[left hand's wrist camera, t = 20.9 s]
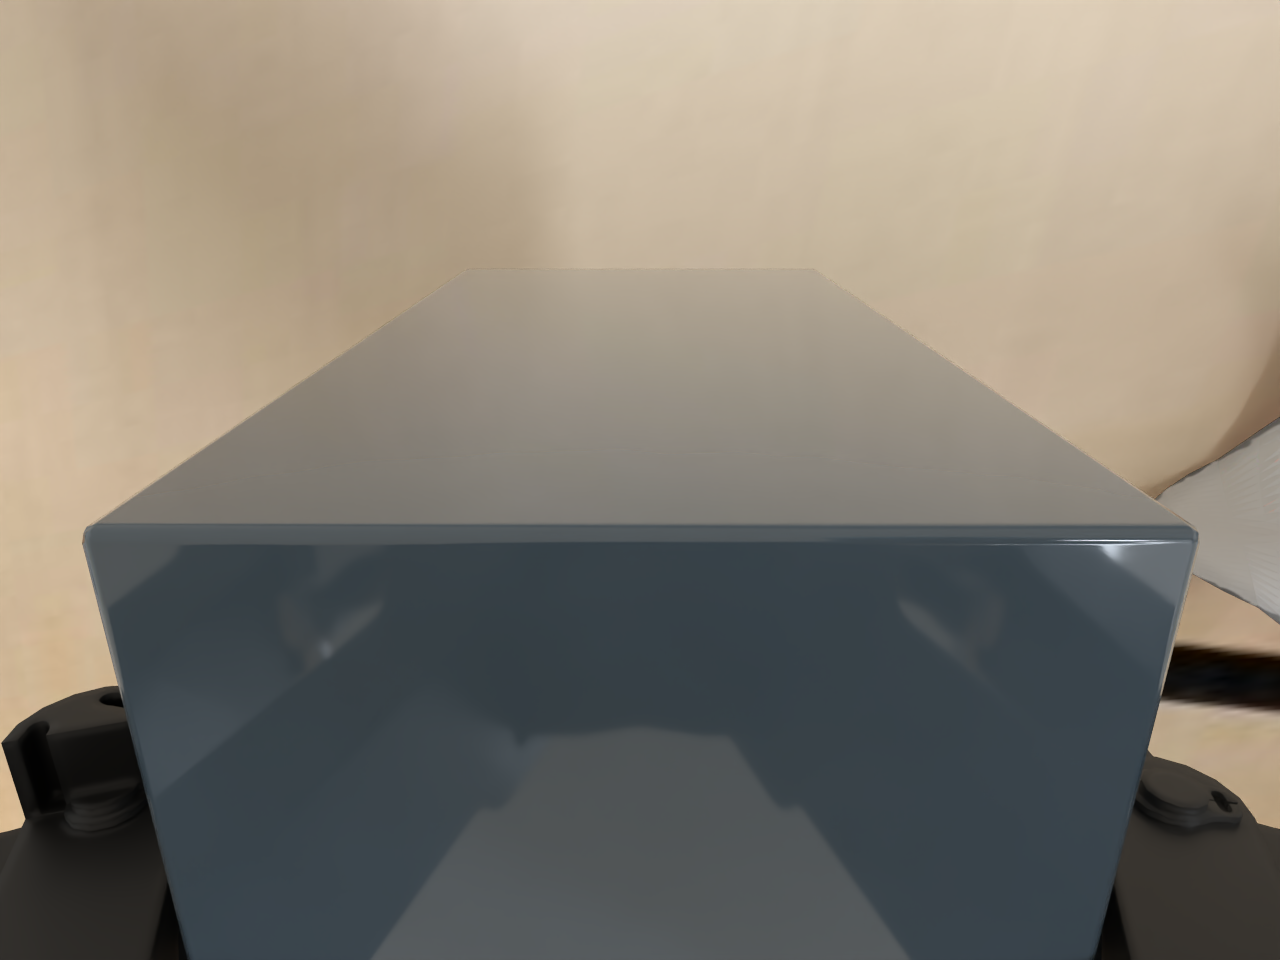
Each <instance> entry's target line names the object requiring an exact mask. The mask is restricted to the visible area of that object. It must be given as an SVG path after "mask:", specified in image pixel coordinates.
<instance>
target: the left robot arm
mask: <svg viewBox="0 0 1280 960" xmlns="http://www.w3.org/2000/svg"><path fill="white" fill-rule="evenodd" d="M1 744H2V747H3V750H4V753H5V756H6V759H7V762H8V766H9V769H10V772H11V775H12V778H13V781H14V784H15V787H16V791H17V794H18V797H19V800H20V803H21V806H22V809H23V812H24V816H25V822H24V824H23V826H22V828H18V829H15V830H11V831H7V832H2V833H0V960H188V959H187V955H186V951H185V947H184V943H183V939H182V935H181V931H180V927H179V923H178V919H177V915H176V911H175V907H174V903H173V899H172V895H171V891H170V887H169V884H168V880H167V876H166V872H165V868H164V864H163V860H162V856H161V852H160V848H159V844H158V840H157V836H156V832H155V828H154V824H153V820H152V816H151V812H150V808H149V805H148V801H147V797H146V793H145V789H144V785H143V781H142V777H141V773H140V769H139V765H138V761H137V757H136V753H135V749H134V745H133V741H132V737H131V733H130V729H129V725H128V722H127V718H126V714H125V710H124V706H123V702H122V698H121V694H120V690H119V686H109V687H103V688H99V689H95V690H91V691H87V692H83V693H79V694H75V695H72V696H70V697H67V698H65V699H63V700H60V701H58V702H55V703H53V704H51V705H48V706H46V707H44V708H42V709H40V710H39V711H37V712H36V713H34V714H33V715H31V716H30V717H28V718H27V719H25V720H24V721H22V722H21V723H19V724H18V725H17V726H16V727H15V728H14V729H13V730H12V731H11V733H10V734H9V735H8V736H7V737H6V738H5V739H4V740H3V742H2V743H1ZM1094 960H1280V829H1277V828H1273V827H1269V826H1265V825H1262V824H1258V823H1257V822H1256V820H1255V818H1254V817H1253V815H1252V814H1251V812H1250V811H1249V810H1248V808H1247V807H1246V806H1245V804H1244V803H1243V802H1242V800H1241V799H1240V798H1239V797H1238V796H1236V795H1235V794H1234V793H1232V792H1231V791H1230V790H1228V789H1227V788H1226V787H1224V786H1223V785H1222V784H1221V783H1219V782H1218V781H1217V780H1215V779H1213V778H1211V777H1209V776H1207V775H1205V774H1203V773H1201V772H1199V771H1197V770H1195V769H1193V768H1190V767H1188V766H1186V765H1183V764H1179V763H1176V762H1172V761H1169V760H1165V759H1162V758H1158V757H1153V756H1152V755H1151V753H1150V752H1149V751H1148V750H1147V754H1146V758H1145V762H1144V765H1143V769H1142V773H1141V777H1140V781H1139V785H1138V789H1137V793H1136V797H1135V801H1134V805H1133V809H1132V813H1131V817H1130V821H1129V825H1128V828H1127V832H1126V836H1125V840H1124V844H1123V848H1122V852H1121V856H1120V860H1119V864H1118V868H1117V872H1116V876H1115V880H1114V884H1113V888H1112V891H1111V895H1110V899H1109V903H1108V907H1107V911H1106V915H1105V919H1104V923H1103V927H1102V931H1101V935H1100V939H1099V943H1098V947H1097V950H1096V954H1095V958H1094Z"/></svg>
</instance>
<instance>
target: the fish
mask: <svg viewBox="0 0 1280 960" xmlns="http://www.w3.org/2000/svg"><path fill="white" fill-rule="evenodd" d="M1155 500H1156V501H1158V502H1159V503H1161V504H1162V505H1164V506H1165V507H1167V508H1168V509H1170V510H1171V511H1173V512H1174V513H1175V514H1177V515H1178V516H1180V517H1181V518H1183V519H1184V520H1186V521H1187V522H1189V523H1190V524H1192V525H1193V526H1195V527H1196V529H1197V531H1198V533H1199V540H1200V545H1199V549H1198V553H1197V557H1196V561H1195V565H1194V569H1193V573H1192V574H1194V575H1195V576H1197V577H1199V578H1201V579H1203V580H1204V581H1206V582H1208V583H1210V584H1212V585H1214V586H1215V587H1217V588H1219V589H1221V590H1223V591H1224V592H1227V593H1229V594H1231V595H1233V596H1235V597H1237V598H1239V599H1241V600H1243V601H1245V602H1247V603H1249V604H1252V605H1254V606H1256V607H1258V608H1259V609H1260V610H1262V611H1263V612H1264V613H1266V614H1267V615H1268V616H1269V617H1271V618H1272V619H1273V620H1275V621H1276V622H1277V623H1279V624H1280V417H1279V418H1277V419H1276V420H1274V421H1273V422H1272V423H1270V424H1269V425H1267V426H1266V427H1264V428H1263V429H1261V430H1260V431H1258V432H1257V433H1255V434H1254V435H1252V436H1251V437H1249V438H1248V439H1247V440H1245V441H1244V442H1242V443H1241V444H1239V445H1238V446H1236V447H1235V448H1234V449H1232V450H1231V451H1229V452H1228V453H1226V454H1225V455H1223V456H1222V457H1221V458H1219V459H1218V460H1216V461H1214V462H1212V463H1210V464H1208V465H1206V466H1204V467H1202V468H1200V469H1198V470H1196V471H1194V472H1192V473H1190V474H1188V475H1187V476H1185V477H1184V478H1182V479H1181V480H1179V481H1178V482H1176V483H1175V484H1173V485H1172V486H1170V487H1169V488H1167V489H1166V490H1164V491H1163V492H1162V493H1161V494H1160V495H1159V496H1158V497H1157V498H1156V499H1155Z"/></svg>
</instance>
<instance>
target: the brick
mask: <svg viewBox="0 0 1280 960" xmlns="http://www.w3.org/2000/svg"><path fill="white" fill-rule="evenodd" d="M82 544H83V548H84V552H85V556H86V560H87V563H88V567H89V571H90V575H91V579H92V583H93V587H94V591H95V595H96V599H97V603H98V607H99V611H100V615H101V619H102V623H103V627H104V631H105V635H106V639H107V643H108V646H109V650H110V654H111V658H112V662H113V666H114V670H115V674H116V678H117V682H118V686H119V690H120V694H121V698H122V702H123V706H124V710H125V714H126V718H127V722H128V725H129V729H130V733H131V737H132V741H133V745H134V749H135V753H136V757H137V761H138V765H139V769H140V773H141V777H142V781H143V785H144V789H145V793H146V797H147V801H148V805H149V808H150V812H151V816H152V820H153V824H154V828H155V832H156V836H157V840H158V844H159V848H160V852H161V856H162V860H163V864H164V868H165V872H166V876H167V880H168V884H169V887H170V891H171V895H172V899H173V903H174V907H175V911H176V915H177V919H178V923H179V927H180V931H181V935H182V939H183V943H184V947H185V951H186V955H187V959H188V960H1094V958H1095V954H1096V950H1097V947H1098V943H1099V939H1100V935H1101V931H1102V927H1103V923H1104V919H1105V915H1106V911H1107V907H1108V903H1109V899H1110V895H1111V891H1112V888H1113V884H1114V880H1115V876H1116V872H1117V868H1118V864H1119V860H1120V856H1121V852H1122V848H1123V844H1124V840H1125V836H1126V832H1127V828H1128V825H1129V821H1130V817H1131V813H1132V809H1133V805H1134V801H1135V797H1136V793H1137V789H1138V785H1139V781H1140V777H1141V773H1142V769H1143V765H1144V762H1145V758H1146V754H1147V750H1148V746H1149V742H1150V738H1151V734H1152V730H1153V726H1154V722H1155V718H1156V714H1157V710H1158V706H1159V703H1160V699H1161V695H1162V691H1163V687H1164V683H1165V679H1166V675H1167V671H1168V667H1169V663H1170V659H1171V655H1172V651H1173V647H1174V643H1175V640H1176V636H1177V632H1178V628H1179V624H1180V620H1181V616H1182V612H1183V608H1184V604H1185V600H1186V596H1187V592H1188V588H1189V584H1190V580H1191V577H1192V573H1193V569H1194V565H1195V561H1196V557H1197V553H1198V549H1199V545H1200V540H1199V533H1198V531H1197V529H1196V527H1195V526H1193V525H1192V524H1190V523H1189V522H1187V521H1186V520H1184V519H1183V518H1181V517H1180V516H1178V515H1177V514H1175V513H1174V512H1173V511H1171V510H1170V509H1168V508H1167V507H1165V506H1164V505H1162V504H1161V503H1159V502H1158V501H1156V500H1155V499H1153V498H1152V497H1150V496H1149V495H1147V494H1146V493H1144V492H1143V491H1142V490H1140V489H1139V488H1137V487H1136V486H1134V485H1133V484H1131V483H1130V482H1128V481H1127V480H1125V479H1124V478H1122V477H1121V476H1119V475H1118V474H1116V473H1115V472H1113V471H1112V470H1111V469H1109V468H1108V467H1106V466H1105V465H1103V464H1102V463H1100V462H1099V461H1097V460H1096V459H1094V458H1093V457H1091V456H1090V455H1088V454H1087V453H1085V452H1084V451H1083V450H1081V449H1080V448H1078V447H1077V446H1075V445H1074V444H1072V443H1071V442H1069V441H1068V440H1066V439H1065V438H1063V437H1062V436H1060V435H1059V434H1057V433H1056V432H1054V431H1053V430H1052V429H1050V428H1049V427H1047V426H1046V425H1044V424H1043V423H1041V422H1040V421H1038V420H1037V419H1035V418H1034V417H1032V416H1031V415H1029V414H1028V413H1026V412H1025V411H1023V410H1022V409H1021V408H1019V407H1018V406H1016V405H1015V404H1013V403H1012V402H1010V401H1009V400H1007V399H1006V398H1004V397H1003V396H1001V395H1000V394H998V393H997V392H995V391H994V390H992V389H991V388H990V387H988V386H987V385H985V384H984V383H982V382H981V381H979V380H978V379H976V378H975V377H973V376H972V375H970V374H969V373H967V372H966V371H964V370H963V369H962V368H960V367H959V366H957V365H956V364H954V363H953V362H951V361H950V360H948V359H947V358H945V357H944V356H942V355H941V354H939V353H938V352H936V351H935V350H933V349H932V348H931V347H929V346H928V345H926V344H925V343H923V342H922V341H920V340H919V339H917V338H916V337H914V336H913V335H911V334H910V333H908V332H907V331H905V330H904V329H902V328H901V327H900V326H898V325H897V324H895V323H894V322H892V321H891V320H889V319H888V318H886V317H885V316H883V315H882V314H880V313H879V312H877V311H876V310H874V309H873V308H871V307H870V306H869V305H867V304H866V303H864V302H863V301H861V300H860V299H858V298H857V297H855V296H854V295H852V294H851V293H849V292H848V291H846V290H845V289H843V288H842V287H841V286H839V285H838V284H836V283H835V282H833V281H832V280H830V279H829V278H827V277H826V276H824V275H823V274H821V273H820V272H818V271H817V270H814V269H467V270H465V271H463V272H461V273H460V274H459V275H457V276H456V277H454V278H453V279H451V280H450V281H448V282H447V283H445V284H444V285H442V286H441V287H439V288H438V289H436V290H435V291H433V292H432V293H431V294H429V295H428V296H426V297H425V298H423V299H422V300H420V301H419V302H417V303H416V304H414V305H413V306H411V307H410V308H408V309H407V310H406V311H404V312H403V313H401V314H400V315H398V316H397V317H395V318H394V319H392V320H391V321H389V322H388V323H386V324H385V325H383V326H382V327H380V328H379V329H378V330H376V331H375V332H373V333H372V334H370V335H369V336H367V337H366V338H364V339H363V340H361V341H360V342H358V343H357V344H355V345H354V346H352V347H351V348H350V349H348V350H347V351H345V352H344V353H342V354H341V355H339V356H338V357H336V358H335V359H333V360H332V361H330V362H329V363H327V364H326V365H324V366H323V367H322V368H320V369H319V370H317V371H316V372H314V373H313V374H311V375H310V376H308V377H307V378H305V379H304V380H302V381H301V382H299V383H298V384H296V385H295V386H294V387H292V388H291V389H289V390H288V391H286V392H285V393H283V394H282V395H280V396H279V397H277V398H276V399H274V400H273V401H271V402H270V403H269V404H267V405H266V406H264V407H263V408H261V409H260V410H258V411H257V412H255V413H254V414H252V415H251V416H249V417H248V418H246V419H245V420H243V421H242V422H241V423H239V424H238V425H236V426H235V427H233V428H232V429H230V430H229V431H227V432H226V433H224V434H223V435H221V436H220V437H218V438H217V439H215V440H214V441H213V442H211V443H210V444H208V445H207V446H205V447H204V448H202V449H201V450H199V451H198V452H196V453H195V454H193V455H192V456H190V457H189V458H187V459H186V460H185V461H183V462H182V463H180V464H179V465H177V466H176V467H174V468H173V469H171V470H170V471H168V472H167V473H165V474H164V475H162V476H161V477H159V478H158V479H157V480H155V481H154V482H152V483H151V484H149V485H148V486H146V487H145V488H143V489H142V490H140V491H139V492H137V493H136V494H134V495H133V496H132V497H130V498H129V499H127V500H126V501H124V502H123V503H121V504H120V505H118V506H117V507H115V508H114V509H112V510H111V511H109V512H108V513H106V514H105V515H104V516H102V517H101V518H99V519H98V520H96V521H95V522H93V523H92V524H90V525H89V526H87V528H86V529H85V531H84V534H83V542H82Z"/></svg>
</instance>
